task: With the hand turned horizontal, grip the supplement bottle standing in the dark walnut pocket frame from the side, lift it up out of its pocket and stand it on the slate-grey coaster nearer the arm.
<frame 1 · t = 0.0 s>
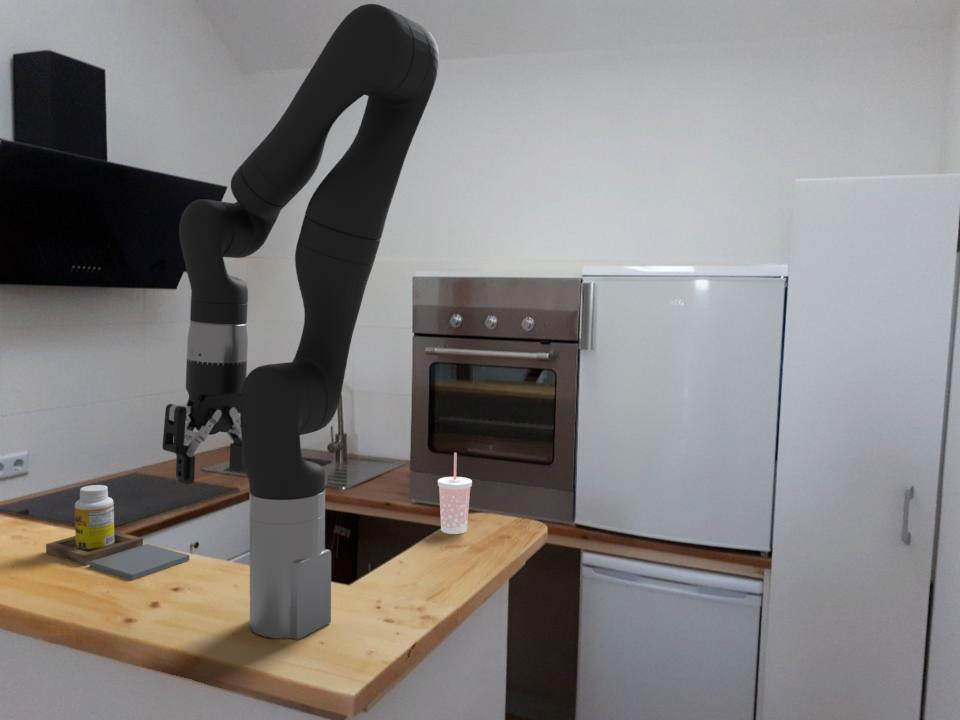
hand: (212, 476, 105), 17 cm above the counter, tool pointing down, fingers open, 8 cm apart
pocket frame: (95, 550, 126), on the counter
beverage cup: (454, 531, 140), on the counter
slate coaster: (140, 563, 120), on the counter
supplement bottle: (95, 551, 126), resting in pocket frame
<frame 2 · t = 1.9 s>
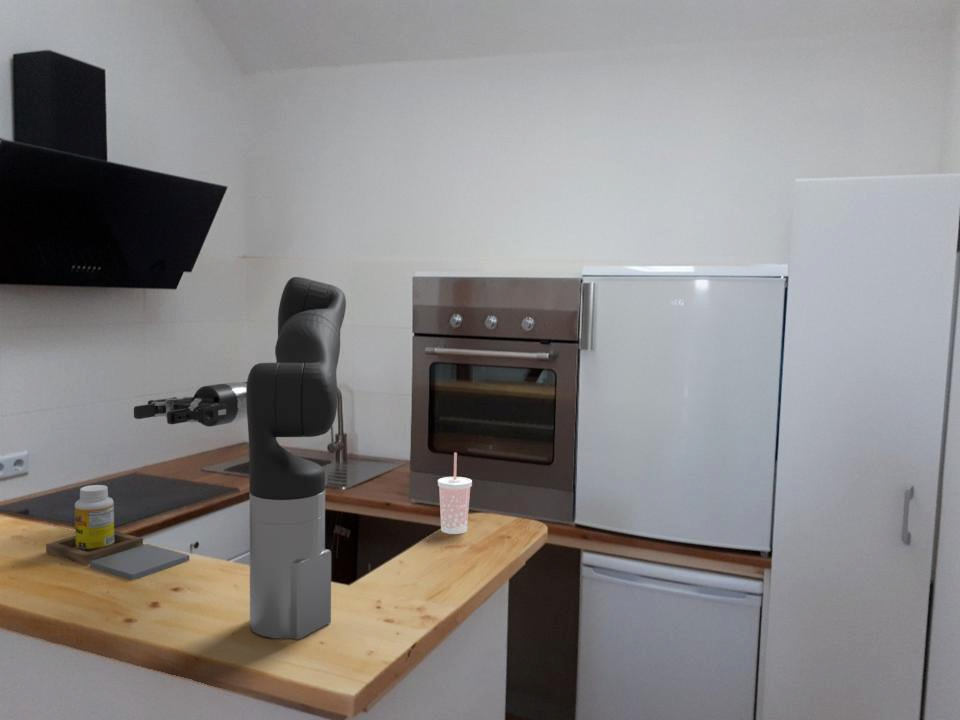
hand: (151, 415, 133), 20 cm above the counter, tool horizontal, fingers open, 8 cm apart
nothing on the counter moved.
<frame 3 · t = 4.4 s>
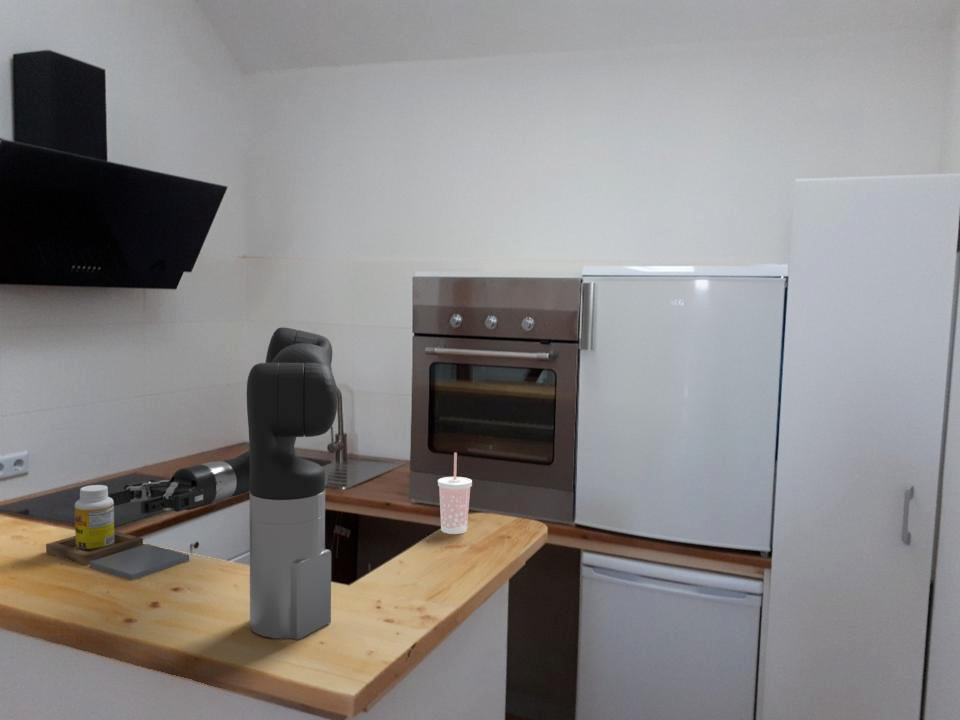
hand: (125, 503, 130), 6 cm above the counter, tool horizontal, fingers open, 8 cm apart
nothing on the counter moved.
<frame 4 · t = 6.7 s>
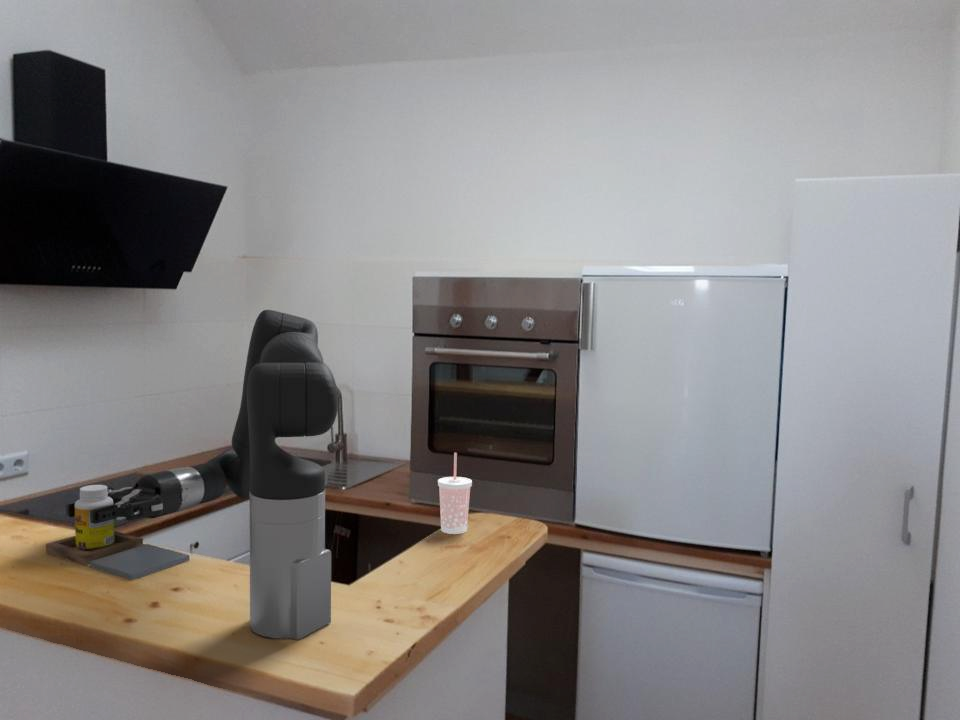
hand: (79, 513, 123), 7 cm above the counter, tool horizontal, fingers closed on supplement bottle, 5 cm apart
supplement bottle: (95, 551, 126), resting in pocket frame, touching gripper
everything else where it was.
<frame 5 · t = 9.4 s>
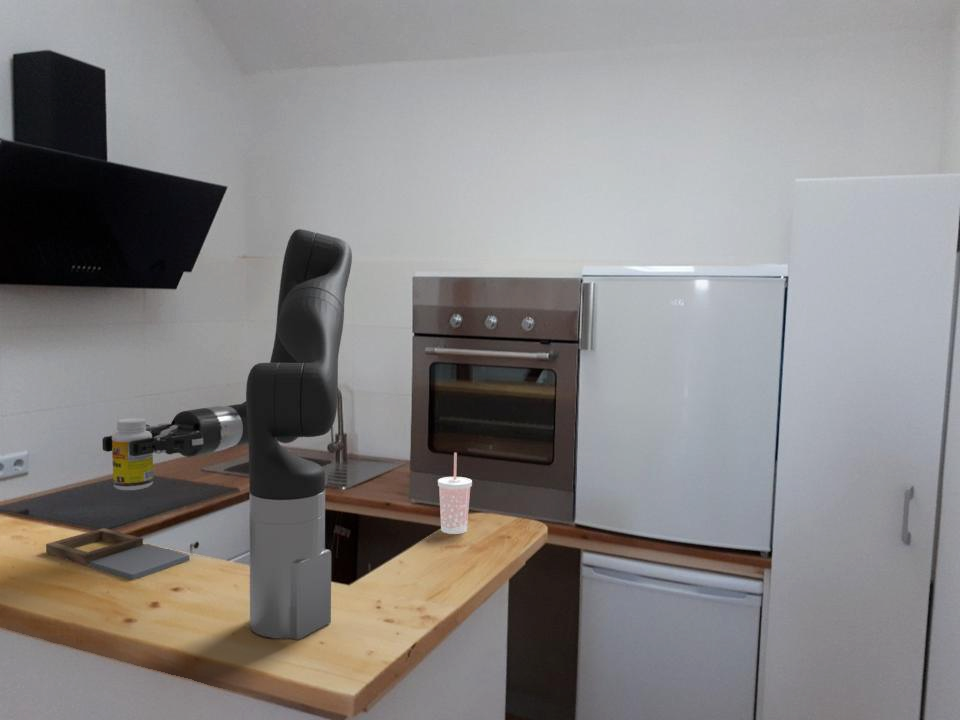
hand: (117, 446, 116), 18 cm above the counter, tool horizontal, fingers closed on supplement bottle, 5 cm apart
supplement bottle: (133, 488, 119), point 12 cm above the counter, touching gripper
everything else where it was.
when the fingers open (8 cm above the counter, at t = 11.9 s): supplement bottle drops 1 cm, resting on slate coaster.
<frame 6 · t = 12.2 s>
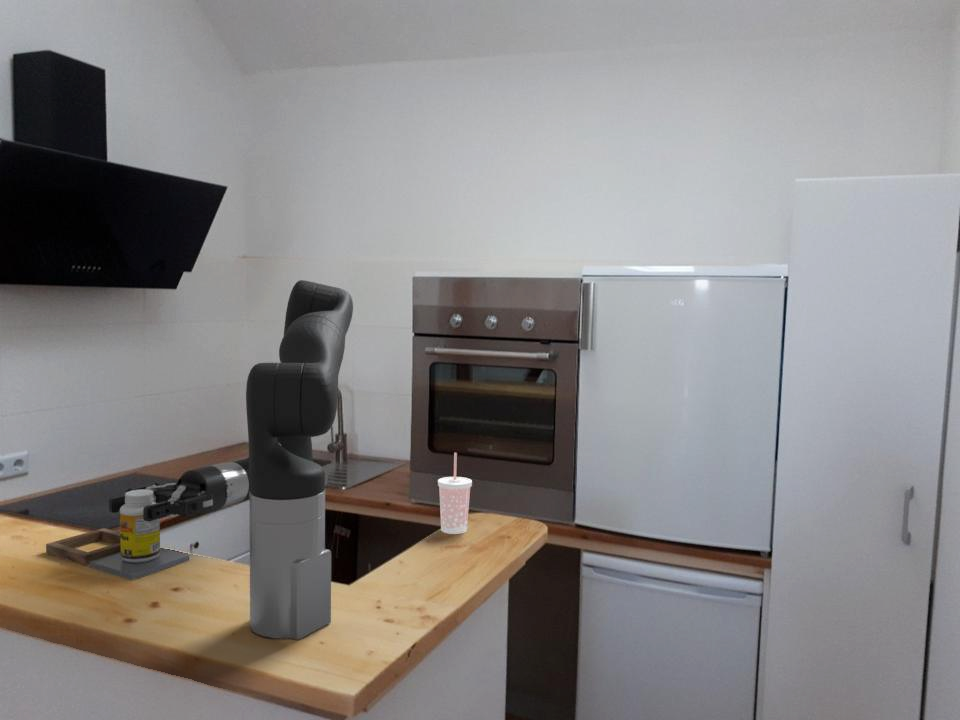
hand: (127, 510, 118), 9 cm above the counter, tool horizontal, fingers open, 7 cm apart
supplement bottle: (140, 559, 120), point 1 cm above the counter, touching slate coaster
everything else where it was.
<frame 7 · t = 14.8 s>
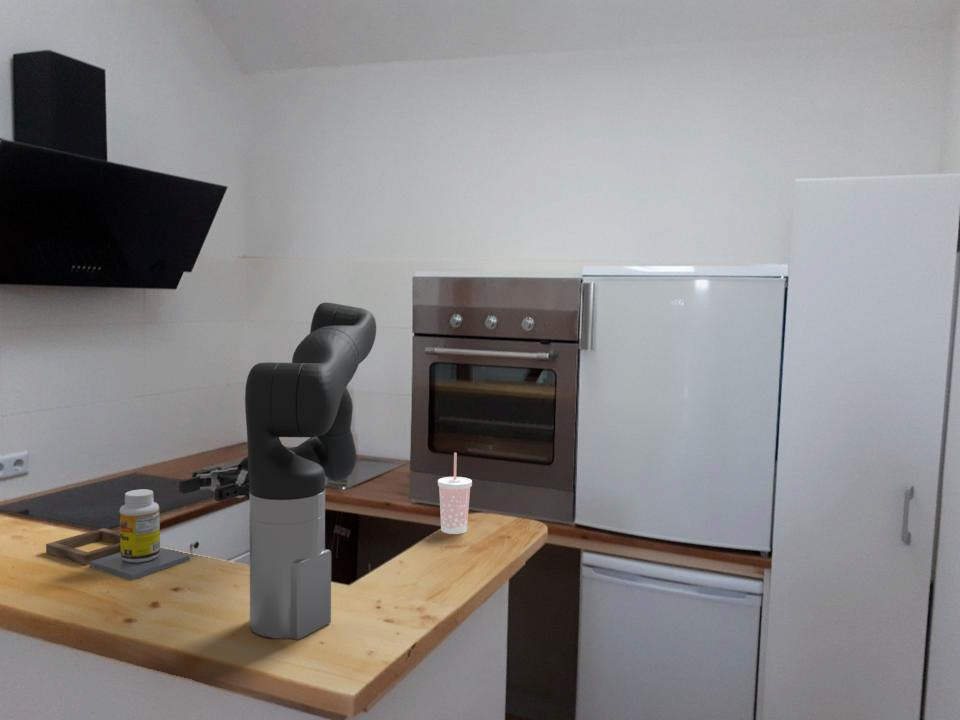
hand: (198, 491, 129), 9 cm above the counter, tool horizontal, fingers open, 8 cm apart
nothing on the counter moved.
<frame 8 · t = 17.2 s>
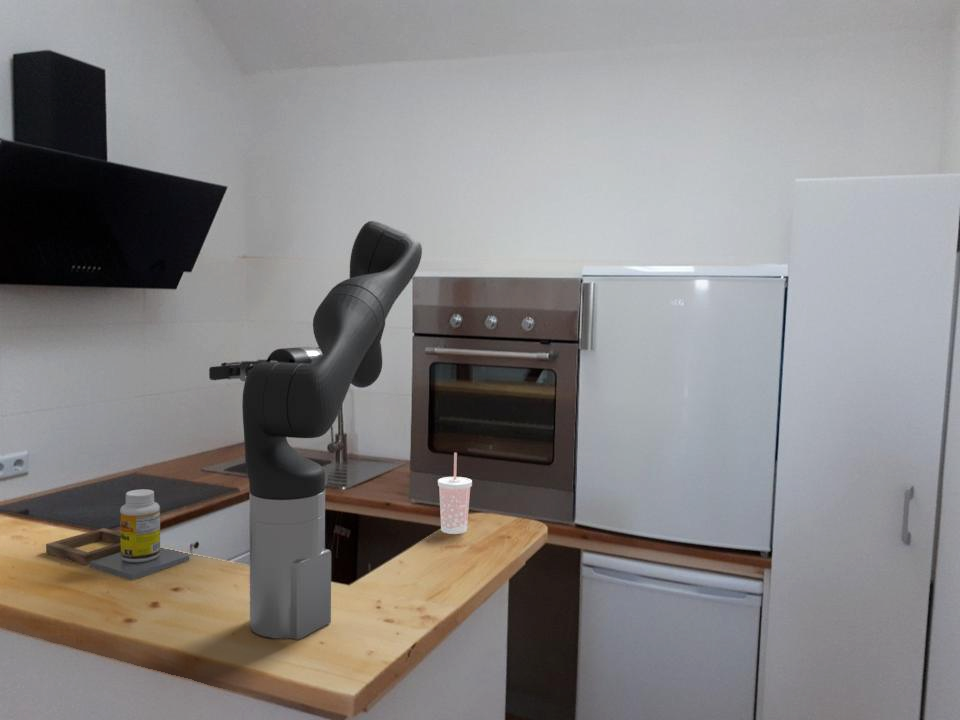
hand: (229, 375, 128), 28 cm above the counter, tool horizontal, fingers open, 8 cm apart
nothing on the counter moved.
at the end: supplement bottle 0.2 cm off-centre on the slate coaster, point 0.6 cm above the slate coaster's base; supplement bottle tilted 0°; the gripper is holding nothing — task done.
